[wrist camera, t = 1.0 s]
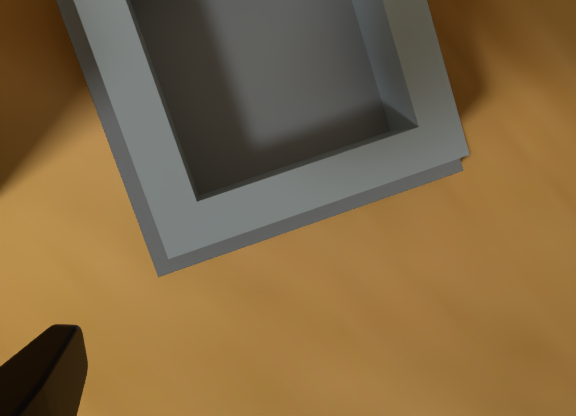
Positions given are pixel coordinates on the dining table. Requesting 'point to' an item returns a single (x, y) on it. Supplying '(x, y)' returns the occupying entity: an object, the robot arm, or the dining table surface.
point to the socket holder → (263, 112)
